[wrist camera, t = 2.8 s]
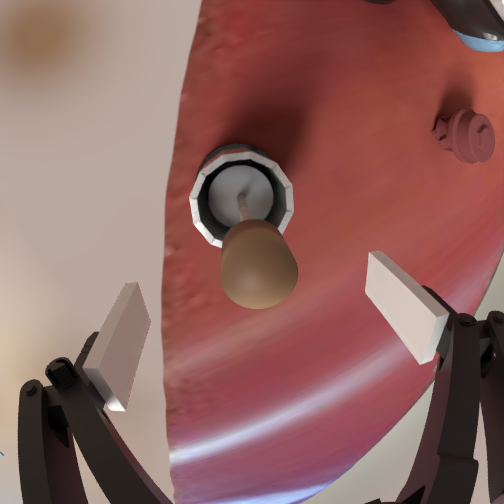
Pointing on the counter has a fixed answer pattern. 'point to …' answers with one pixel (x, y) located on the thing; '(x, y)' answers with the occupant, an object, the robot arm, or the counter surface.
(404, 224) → the counter surface
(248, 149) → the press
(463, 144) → the mechanical component
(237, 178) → the plunger
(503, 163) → the counter surface
